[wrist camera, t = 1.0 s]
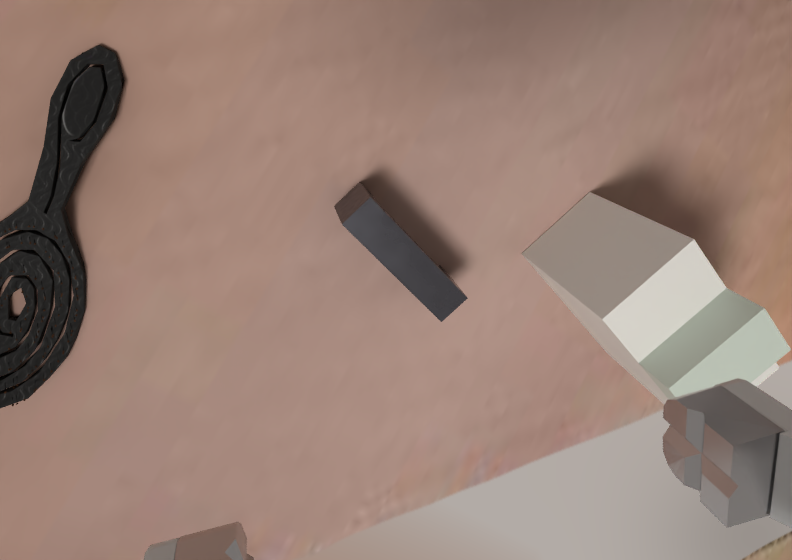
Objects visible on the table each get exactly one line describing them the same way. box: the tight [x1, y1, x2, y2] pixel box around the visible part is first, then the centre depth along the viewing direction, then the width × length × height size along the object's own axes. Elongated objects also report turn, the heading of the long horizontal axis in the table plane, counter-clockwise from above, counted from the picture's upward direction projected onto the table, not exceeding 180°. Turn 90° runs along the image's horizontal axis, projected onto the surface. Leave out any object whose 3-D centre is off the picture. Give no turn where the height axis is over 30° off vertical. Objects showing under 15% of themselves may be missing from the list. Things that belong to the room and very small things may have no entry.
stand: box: [522, 192, 791, 405], centre depth 41 cm, size 13×7×15 cm, turn 42°
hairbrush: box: [0, 45, 124, 408], centre depth 37 cm, size 8×4×25 cm
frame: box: [334, 182, 467, 322], centre depth 41 cm, size 10×2×4 cm, turn 42°
